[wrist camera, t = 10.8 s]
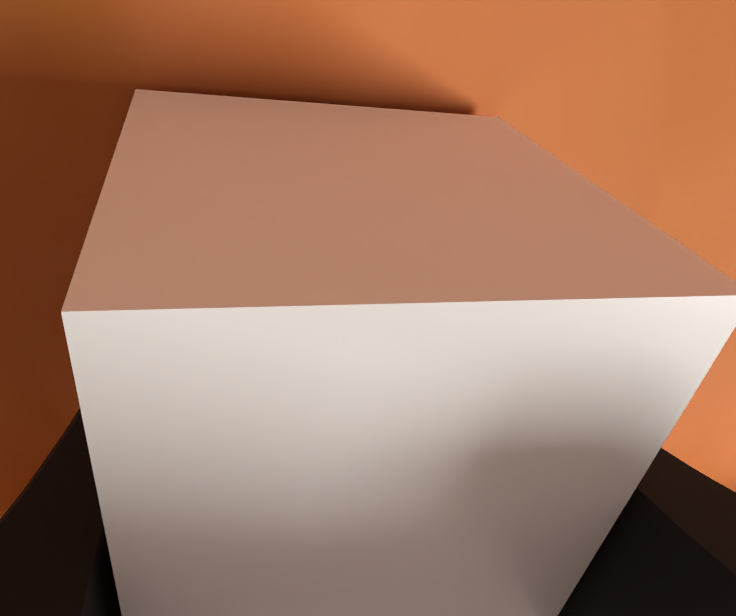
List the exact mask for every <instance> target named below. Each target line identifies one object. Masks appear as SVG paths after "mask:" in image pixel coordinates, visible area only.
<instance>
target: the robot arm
mask: <svg viewBox="0 0 736 616" xmlns="http://www.w3.org/2000/svg"><path fill="white" fill-rule="evenodd" d="M0 616H122V614H121V609H120V604H119V599H118V594H117V589H116V584H115V579H114V574H113V569H112V564H111V559H110V554H109V549H108V544H107V539H106V534H105V529H104V524H103V519H102V514H101V509H100V504H99V499H98V494H97V489H96V484H95V479H94V474H93V469H92V464H91V459H90V454H89V449H88V444H87V439H86V434H85V429H84V424H83V419H82V414H81V409H79V410H78V412H77V413H76V415H75V417H74V418H73V420H72V421H71V423H70V424H69V426H68V427H67V429H66V430H65V432H64V433H63V435H62V436H61V438H60V439H59V441H58V442H57V444H56V445H55V447H54V448H53V449H52V451H51V452H50V454H49V455H48V456H47V458H46V459H45V461H44V462H43V464H42V465H41V466H40V468H39V469H38V471H37V472H36V473H35V475H34V476H33V478H32V479H31V480H30V482H29V483H28V484H27V486H26V487H25V489H24V490H23V491H22V493H21V494H20V495H19V496H18V498H17V499H16V500H15V501H14V503H13V504H12V505H11V506H10V508H9V509H8V510H7V512H6V513H5V514H4V515H3V517H2V518H1V519H0ZM558 616H736V493H735V492H734V491H732V490H730V489H728V488H727V487H725V486H723V485H721V484H719V483H718V482H716V481H714V480H712V479H711V478H709V477H707V476H705V475H704V474H702V473H700V472H699V471H697V470H695V469H694V468H692V467H690V466H689V465H687V464H686V463H684V462H682V461H681V460H679V459H678V458H676V457H675V456H673V455H671V454H670V453H668V452H667V451H665V450H664V449H662V448H660V450H659V452H658V453H657V455H656V456H655V458H654V460H653V461H652V463H651V465H650V466H649V468H648V469H647V471H646V473H645V474H644V476H643V478H642V479H641V481H640V482H639V484H638V486H637V487H636V489H635V491H634V492H633V494H632V495H631V497H630V499H629V500H628V502H627V504H626V505H625V507H624V508H623V510H622V512H621V513H620V515H619V517H618V518H617V520H616V521H615V523H614V525H613V526H612V528H611V530H610V531H609V533H608V534H607V536H606V538H605V539H604V541H603V543H602V544H601V546H600V547H599V549H598V551H597V552H596V554H595V556H594V557H593V559H592V561H591V562H590V564H589V565H588V567H587V569H586V570H585V572H584V574H583V575H582V577H581V578H580V580H579V582H578V583H577V585H576V587H575V588H574V590H573V591H572V593H571V595H570V596H569V598H568V600H567V601H566V603H565V604H564V606H563V608H562V609H561V611H560V613H559V614H558Z"/></svg>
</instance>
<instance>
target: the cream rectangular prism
mask: <svg viewBox="0 0 736 616" xmlns="http://www.w3.org/2000/svg"><path fill="white" fill-rule="evenodd" d="M61 315H62V320H63V325H64V330H65V335H66V340H67V345H68V350H69V355H70V360H71V365H72V370H73V375H74V380H75V385H76V390H77V394H78V399H79V404H80V409H81V414H82V419H83V424H84V429H85V434H86V439H87V444H88V449H89V454H90V459H91V464H92V469H93V474H94V479H95V484H96V489H97V494H98V499H99V504H100V509H101V514H102V519H103V524H104V529H105V534H106V539H107V544H108V549H109V554H110V559H111V564H112V569H113V574H114V579H115V584H116V589H117V594H118V599H119V604H120V609H121V614H122V616H558V614H559V613H560V611H561V609H562V608H563V606H564V604H565V603H566V601H567V600H568V598H569V596H570V595H571V593H572V591H573V590H574V588H575V587H576V585H577V583H578V582H579V580H580V578H581V577H582V575H583V574H584V572H585V570H586V569H587V567H588V565H589V564H590V562H591V561H592V559H593V557H594V556H595V554H596V552H597V551H598V549H599V547H600V546H601V544H602V543H603V541H604V539H605V538H606V536H607V534H608V533H609V531H610V530H611V528H612V526H613V525H614V523H615V521H616V520H617V518H618V517H619V515H620V513H621V512H622V510H623V508H624V507H625V505H626V504H627V502H628V500H629V499H630V497H631V495H632V494H633V492H634V491H635V489H636V487H637V486H638V484H639V482H640V481H641V479H642V478H643V476H644V474H645V473H646V471H647V469H648V468H649V466H650V465H651V463H652V461H653V460H654V458H655V456H656V455H657V453H658V452H659V450H660V448H661V447H662V445H663V443H664V442H665V440H666V439H667V437H668V435H669V434H670V432H671V430H672V429H673V427H674V426H675V424H676V422H677V421H678V419H679V417H680V416H681V414H682V413H683V411H684V409H685V408H686V406H687V404H688V403H689V401H690V399H691V398H692V396H693V395H694V393H695V391H696V390H697V388H698V386H699V385H700V383H701V382H702V380H703V378H704V377H705V375H706V373H707V372H708V370H709V369H710V367H711V365H712V364H713V362H714V360H715V359H716V357H717V356H718V354H719V352H720V351H721V349H722V347H723V346H724V344H725V343H726V341H727V339H728V338H729V336H730V334H731V333H732V331H733V330H734V328H735V326H736V282H735V281H734V280H733V279H731V278H730V277H728V276H727V275H725V274H724V273H722V272H721V271H720V270H718V269H717V268H715V267H714V266H712V265H711V264H710V263H708V262H707V261H705V260H704V259H702V258H701V257H699V256H698V255H697V254H695V253H694V252H692V251H691V250H689V249H688V248H687V247H685V246H684V245H682V244H681V243H679V242H678V241H676V240H675V239H674V238H672V237H671V236H669V235H668V234H666V233H665V232H663V231H662V230H661V229H659V228H658V227H656V226H655V225H653V224H652V223H651V222H649V221H648V220H646V219H645V218H643V217H642V216H640V215H639V214H638V213H636V212H635V211H633V210H632V209H630V208H629V207H627V206H626V205H625V204H623V203H622V202H620V201H619V200H617V199H616V198H615V197H613V196H612V195H610V194H609V193H607V192H606V191H604V190H603V189H602V188H600V187H599V186H597V185H596V184H594V183H593V182H592V181H590V180H589V179H587V178H586V177H584V176H583V175H581V174H580V173H579V172H577V171H576V170H574V169H573V168H571V167H570V166H568V165H567V164H566V163H564V162H563V161H561V160H560V159H558V158H557V157H556V156H554V155H553V154H551V153H550V152H548V151H547V150H545V149H544V148H543V147H541V146H540V145H538V144H537V143H535V142H534V141H532V140H531V139H530V138H528V137H527V136H525V135H524V134H522V133H521V132H520V131H518V130H517V129H515V128H514V127H512V126H511V125H509V124H508V123H507V122H505V121H504V120H502V119H501V118H499V117H492V116H479V115H466V114H453V113H440V112H427V111H414V110H401V109H388V108H375V107H362V106H349V105H336V104H323V103H310V102H297V101H284V100H271V99H258V98H245V97H232V96H219V95H206V94H193V93H180V92H167V91H154V90H141V89H135V92H134V95H133V98H132V101H131V104H130V107H129V110H128V113H127V116H126V119H125V122H124V125H123V128H122V131H121V134H120V137H119V140H118V143H117V146H116V149H115V152H114V155H113V158H112V161H111V164H110V167H109V170H108V173H107V176H106V179H105V182H104V185H103V188H102V191H101V194H100V197H99V200H98V203H97V206H96V209H95V212H94V215H93V217H92V220H91V223H90V226H89V229H88V232H87V235H86V238H85V241H84V244H83V247H82V250H81V253H80V256H79V259H78V262H77V265H76V268H75V271H74V274H73V277H72V280H71V283H70V286H69V289H68V292H67V295H66V298H65V301H64V304H63V307H62V310H61Z"/></svg>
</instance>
